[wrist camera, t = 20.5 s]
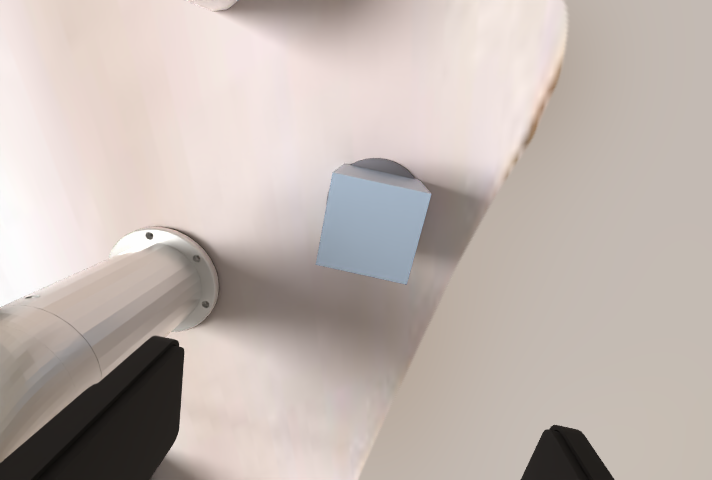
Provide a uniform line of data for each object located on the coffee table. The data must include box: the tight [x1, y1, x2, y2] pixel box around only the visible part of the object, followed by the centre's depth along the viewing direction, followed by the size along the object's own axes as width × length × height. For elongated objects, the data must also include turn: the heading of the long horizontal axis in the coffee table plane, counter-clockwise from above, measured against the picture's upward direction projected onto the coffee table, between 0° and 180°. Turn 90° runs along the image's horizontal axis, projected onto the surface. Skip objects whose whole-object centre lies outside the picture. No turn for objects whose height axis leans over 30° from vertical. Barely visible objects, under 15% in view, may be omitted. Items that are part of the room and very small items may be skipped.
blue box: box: [316, 164, 431, 285], centre depth 32 cm, size 8×8×9 cm
